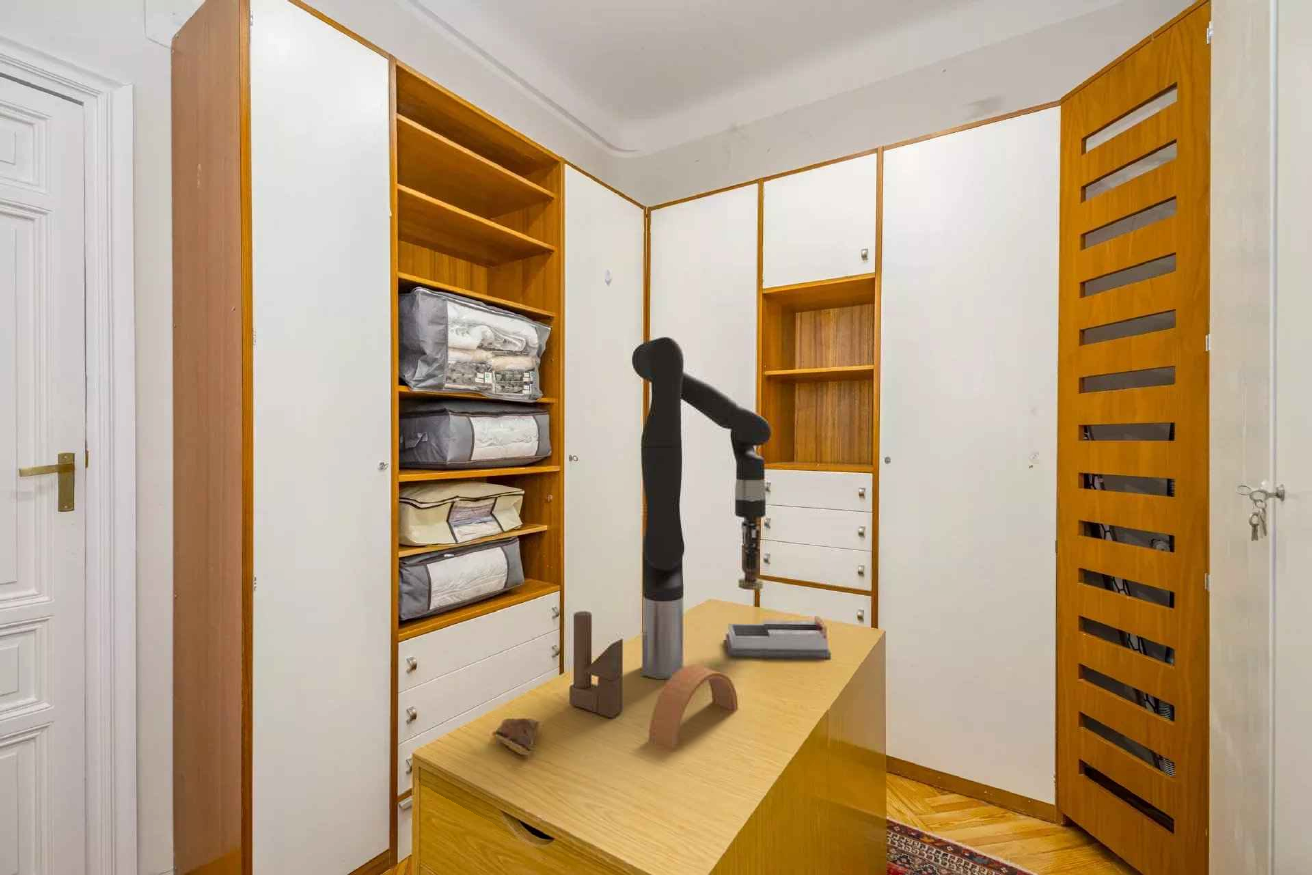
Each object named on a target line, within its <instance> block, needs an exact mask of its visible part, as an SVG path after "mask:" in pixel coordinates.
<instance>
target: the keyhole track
mask: <svg viewBox="0 0 1312 875" xmlns="http://www.w3.org/2000/svg"><path fill="white" fill-rule="evenodd" d="M827 629H828V628H827V626H826V625H825V623H824V621H822V619H821V618H820V617H819V616H816V615H815V616H814V620H773V619H771V620H770V619H766V620H764V619H763V620H762V623H727V633H725V641H726V642H725V643H726V646H727V651H728V655H729V658H740V659H742V658H743V659H744V658H746V659H748V658H749V659H755V658H756V659H765V658H766V659H829V660H830V659H832V652H831V651H830V650H829V648H828V646H829V644H828V643H829V642H828V640H829V639H828V637H827V636H828V635H827V633H828V632H827V631H828V630H827Z"/></svg>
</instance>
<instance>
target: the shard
mask: <svg viewBox="0 0 1312 875" xmlns="http://www.w3.org/2000/svg"><path fill="white" fill-rule="evenodd" d="M539 725H540V721H539V720H535V719H531V718H505V719H503V720H502V722H501V723H500V726H499V727H498V728H497V729H496V730H495V731H493V733H492V738H493V739H494V740H495V741H499V742H501V743H502V744H503V745H506V746H507V747H508V748H510V749H511V750H513V751H515V752H516V753H517V754H520V755H524V756H526V757H529V758H530V757H531V754H532V748H533V744H534V740H535V739H536V735H537V733H538V730H539V727H540V726H539Z"/></svg>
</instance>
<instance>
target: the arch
mask: <svg viewBox="0 0 1312 875" xmlns="http://www.w3.org/2000/svg"><path fill="white" fill-rule="evenodd" d="M706 682H708V684H709V687H710V691H711V701H712V702H711V703H712V704H714V705H717V706H720V707H722V708H724V709H728V710H729V711H734V712H736V711H737V710H738V709H739V703H738V695H737V692H736V691H737V690H736V688H735V685H734V683H733V682H732V680H731V679H730V678H729V677H728V676H727V675H726V674H724V673H722V672H720V671H716V670H713V669H710V668H707V667H704V666H701V665H698V664H689V665H686V666H683V668H682V669H680V670H679V671H677V672H676V673H675V674H674V675H673V676H672V677H671V678H669V680H668V681H667V683H665V686H664V687H663V689H662V690H661V692H660V694H659V696H658V698H657V700H656V703H655V706H654V708H653V712H652V715H651V719H650V725H649V731H648V733H649V734H648V741H649V742H650V743H653V744H655V745H656V746H660V747H661V748H664V749H667V750H669V751H671V752H675V751H677V748H678V746H677V744H678V743H677V742H678V735H679V730H680V727H681V726H680V725H681V722H682V719H683V716H684V713H685V711H686V708H687V706H688V704H689V702H690V700H691V699H692V697H693V695H694V694H695V692H696V691H697V690H698V689H699V688H700V687H701V686H702V685H703V684H704V683H706Z"/></svg>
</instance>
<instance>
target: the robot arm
mask: <svg viewBox="0 0 1312 875" xmlns="http://www.w3.org/2000/svg"><path fill="white" fill-rule="evenodd" d="M631 356H632V357H631V364H632V368H633V370H634V371H635V373H636V375H638V376H639V377H640V378H642V379H643V380H645V381H647V382H648V383H650V386H651V401H650V406H649V411H648V415H647V416H646V419H645V424H644V426H643V429H642V433H641V440H640V460H641V461H640V464H641V475H642V476H641V477H642V483H643V484H642V485H643V488H644V495H645V500H646V501H645V504H646V522H645V523H646V524H645V534H644V536H643V541H642V633H641V675H642V676H643V677H650V678H652V679H659V680H668V679H671V677H672V676H673V675H674V674H675V673H676V672H677V671H679V670H680V669H682V668H683V667H684V590H685V589H684V588H685V586H684V575H683V574H684V573H683V567H684V566H683V557H684V554H685V548H686V547H685V542H684V536H683V535H684V534H683V528H682V519H681V506H680V503H681V491H682V477H683V445H682V444H683V442H682V401H683V402H685V403H687V404H688V405H690V406H691V407H693V408H695V409H696V410H697V411H699V412H700V413H701V414H702V415H704V416H705V417H707V418H708V419H709V420H711V421H712V422H713V423H715V424H716V425H718V426H719V427H721V428H723V429H727V430H730V434H729V436H730V442H731V446H732V451H733V456H734V459H735V463H736V466H735V468H736V470H735V473H736V474H735V477H736V478H735V487H734V514H735V516H736V517H738V518H743V521H742V522H741V525H740V526H741V531H742V532H741V538H742V545H746V552H747V568H756V553H757V552H758V546H759V541H760V540H759V536H760V535H759V534H760V524H758V522H757V519H758V518H759V519H760V518H764V517H765V516H766V512H767V511H766V506H767V505H766V500H767V499H766V492H767V491H766V490H767V489H766V483H765V482H766V481H765V474H766V472H765V470H766V469H765V468H766V467H765V466H766V465H765V459H764V457H762V456H760V455H758V454H757V453H756V448H755V446H756V447H759V446H763V445H765V444H767V443H768V442H769V440H770V438H771V436H772V430H771V426H770V424H769V422H768V421H767V420H766V419H765V418H764V417H763V416H761V415H760V414H758V413H756V412H754V411H752V410H750V409H748V408H747V407H745V406H742V405H741V404H738V403H737V402H736V401H735V400H734V399H732V397H729V395H727V394H726V393H725V392H723V391H722V390H721V389H720V388H719V389H718V388H717V387H715V386H713V385H711V384H710V383H707V382H705V381H703V380H701V379H698V378H696V377H694V376H692V375H690V374H688V373H687V372H685V371H684V363H685V362H684V360H685V359H684V353H683V350H682V347H681V346H680V344H679V343H678V342H677V341H676V340H675V339H674V338H672V337H668V336H663V337H657V338H655V339H652V340H649V341H645V342H643V343H641V344H640V345H638V346H636V348H635V349H634V351H633V353H632V355H631ZM750 545H754V547H750Z"/></svg>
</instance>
